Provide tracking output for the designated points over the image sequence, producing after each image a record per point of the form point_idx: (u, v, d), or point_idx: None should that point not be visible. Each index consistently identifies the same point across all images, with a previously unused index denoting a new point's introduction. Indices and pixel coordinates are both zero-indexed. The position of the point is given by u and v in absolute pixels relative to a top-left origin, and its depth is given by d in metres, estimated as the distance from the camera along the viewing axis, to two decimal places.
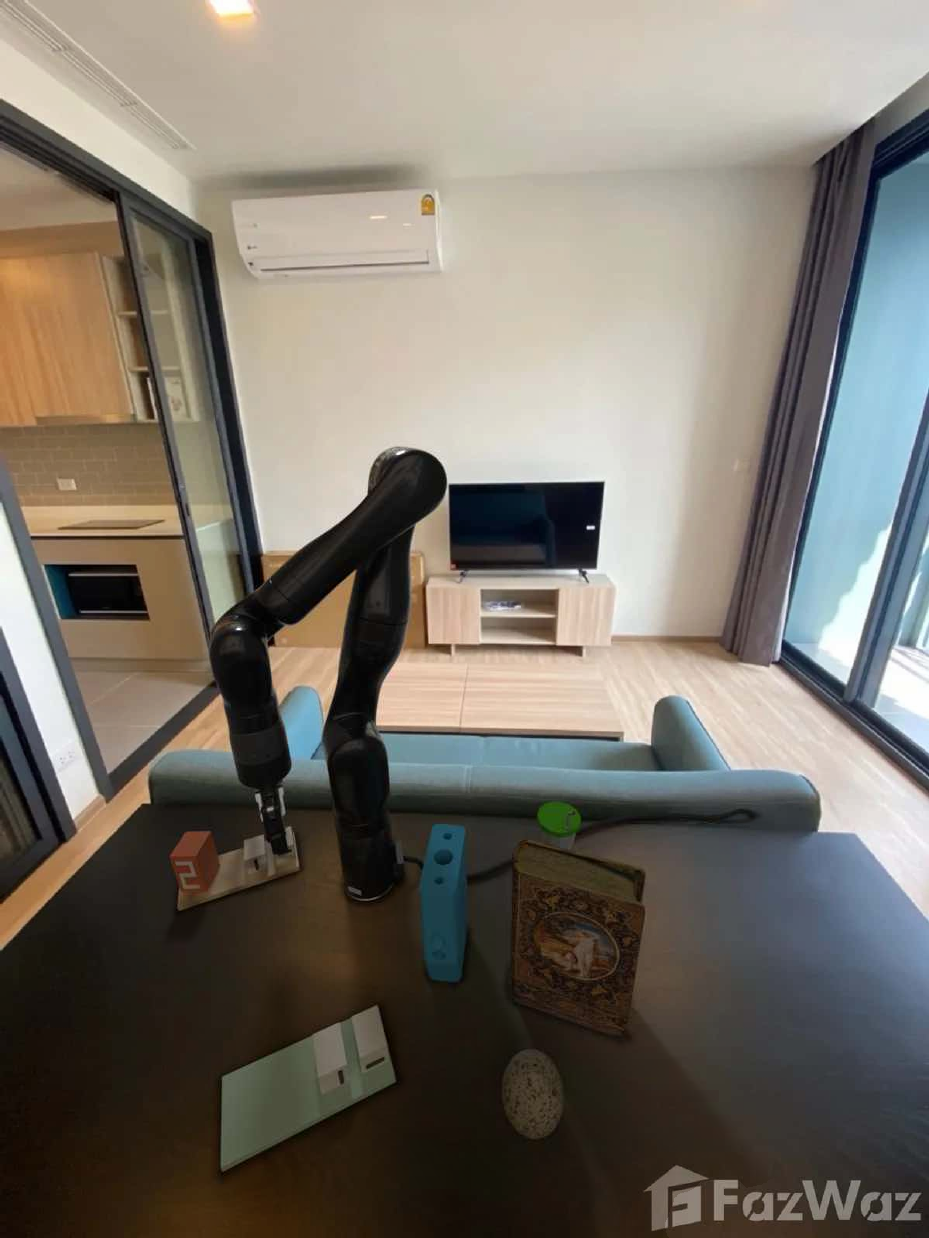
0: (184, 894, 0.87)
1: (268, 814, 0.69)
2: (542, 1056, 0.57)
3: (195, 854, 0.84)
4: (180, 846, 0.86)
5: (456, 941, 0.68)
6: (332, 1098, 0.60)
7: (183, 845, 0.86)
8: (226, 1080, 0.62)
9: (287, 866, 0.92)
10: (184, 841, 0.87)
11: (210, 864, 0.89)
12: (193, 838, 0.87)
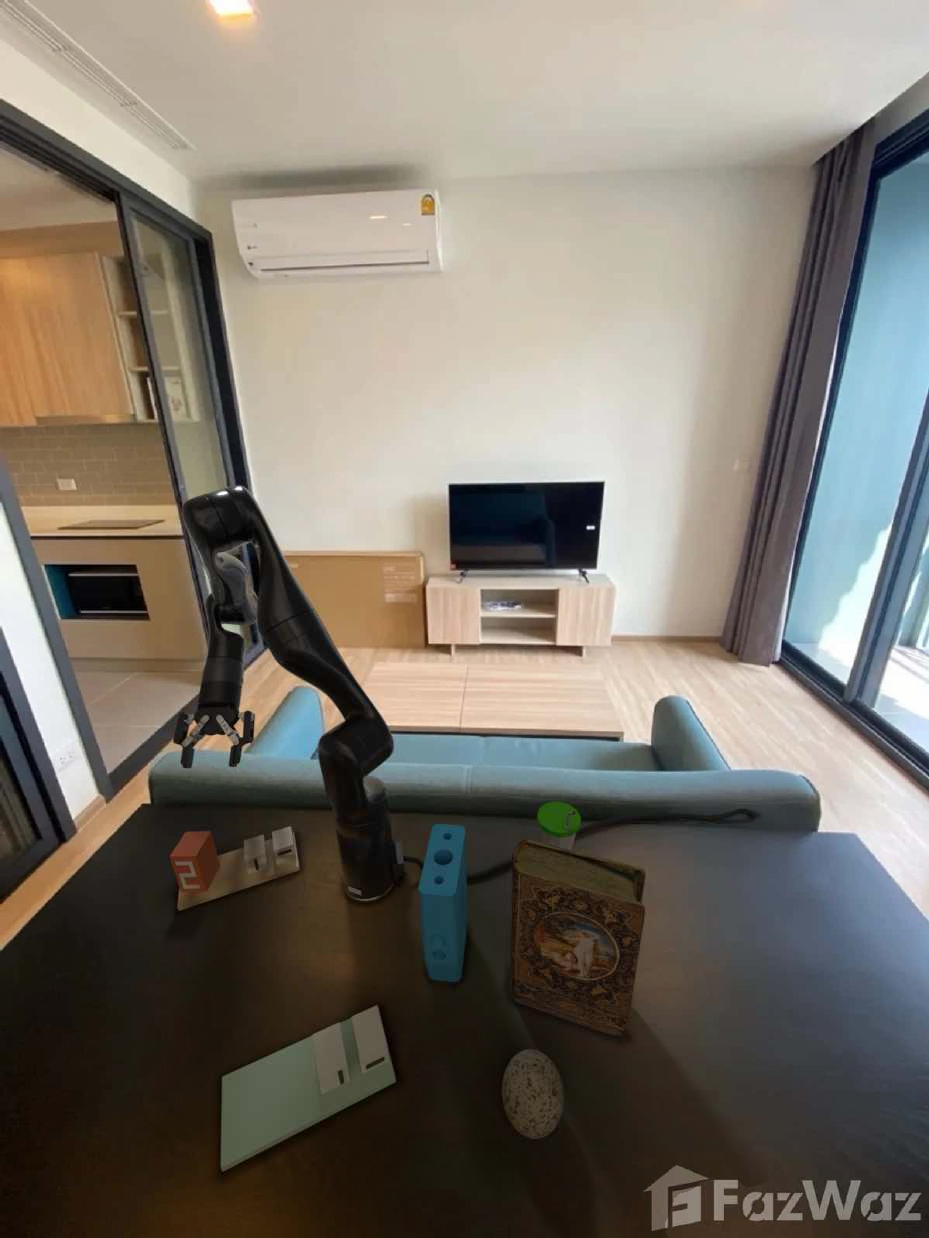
0: (184, 894, 0.87)
1: None
2: (542, 1056, 0.57)
3: (195, 854, 0.84)
4: (180, 846, 0.86)
5: (456, 941, 0.68)
6: (332, 1098, 0.60)
7: (183, 845, 0.86)
8: (226, 1080, 0.62)
9: (287, 866, 0.92)
10: (184, 841, 0.87)
11: (210, 864, 0.89)
12: (193, 838, 0.87)
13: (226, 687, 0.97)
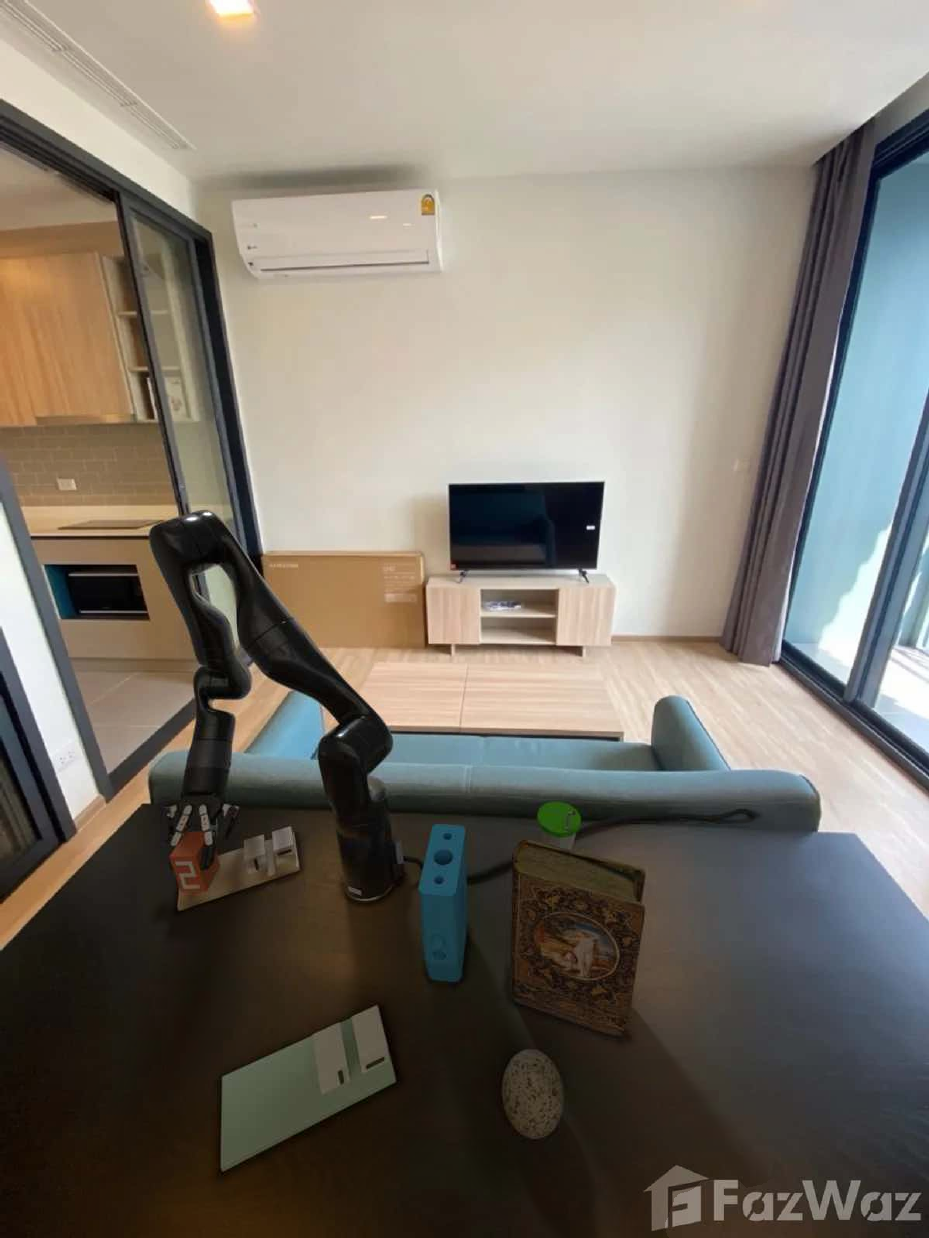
0: (184, 894, 0.87)
1: None
2: (542, 1056, 0.57)
3: (195, 854, 0.84)
4: (180, 846, 0.86)
5: (456, 941, 0.68)
6: (332, 1098, 0.60)
7: (183, 845, 0.86)
8: (226, 1080, 0.62)
9: (287, 866, 0.92)
10: (184, 841, 0.87)
11: None
12: (193, 838, 0.87)
13: (211, 774, 0.90)
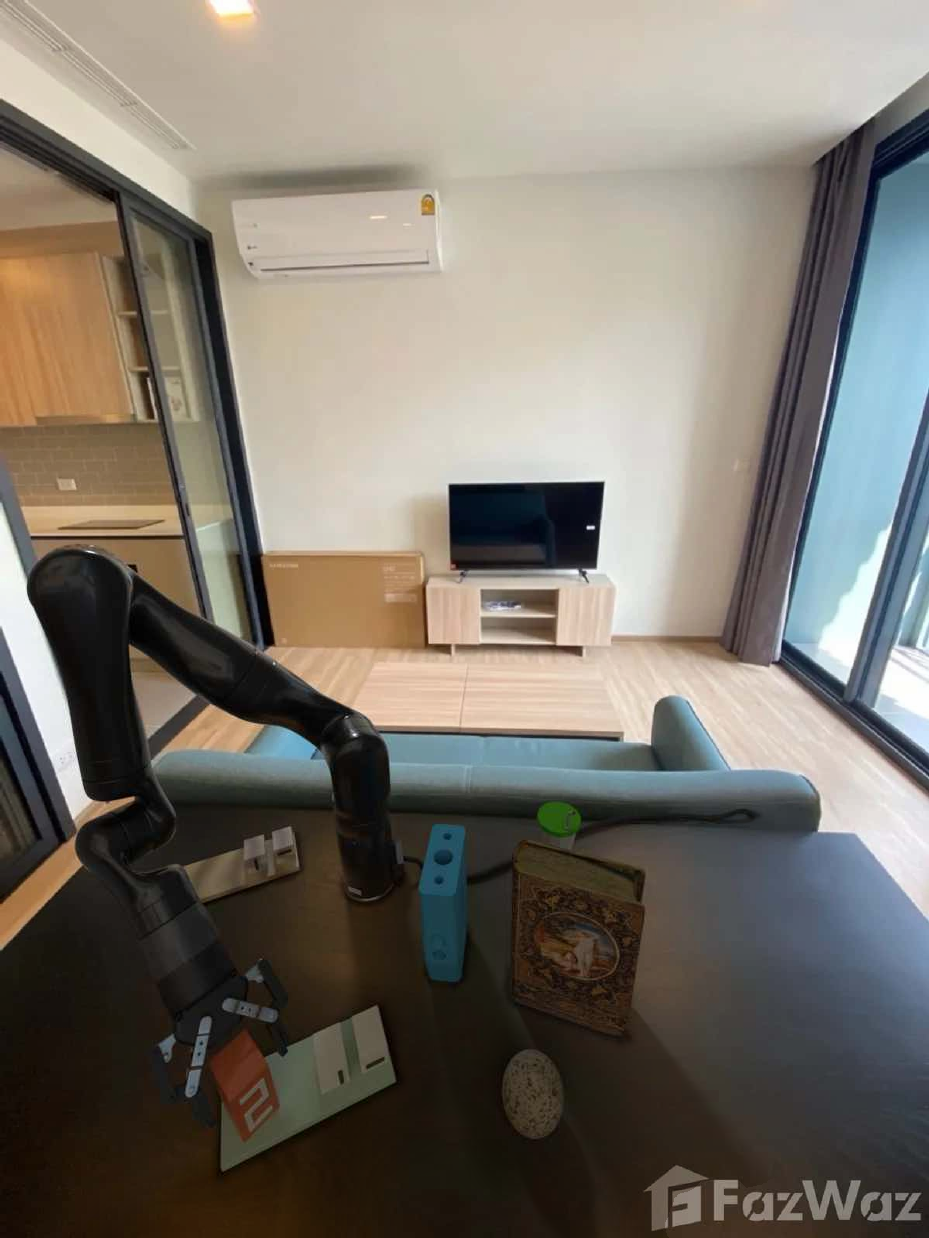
0: None
1: None
2: (542, 1056, 0.57)
3: (264, 1063, 0.57)
4: (227, 1079, 0.55)
5: (456, 941, 0.68)
6: (332, 1098, 0.60)
7: (230, 1074, 0.56)
8: None
9: (287, 866, 0.92)
10: (224, 1069, 0.56)
11: None
12: (234, 1056, 0.57)
13: (216, 951, 0.59)
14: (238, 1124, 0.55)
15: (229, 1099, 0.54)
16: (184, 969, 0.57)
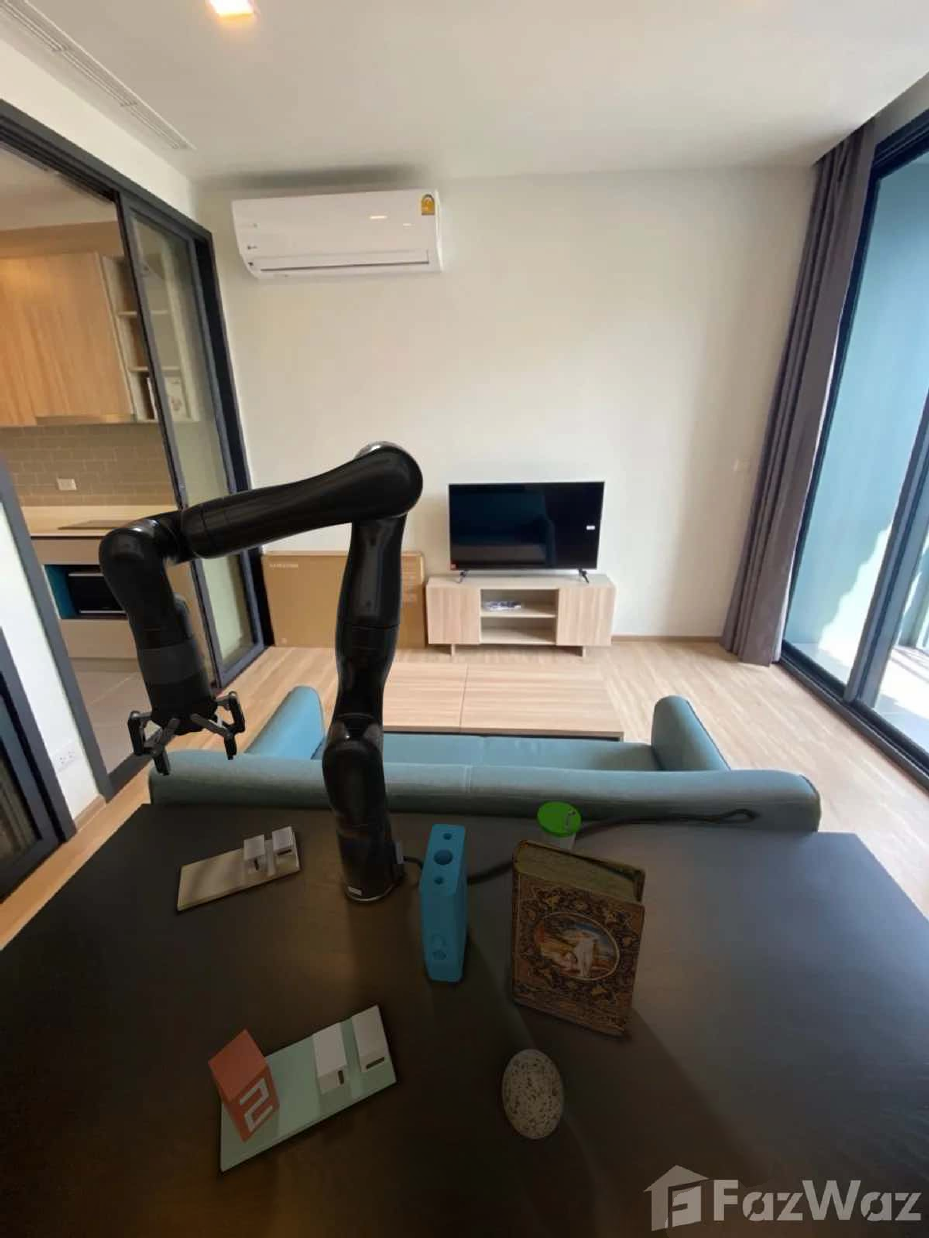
0: (184, 894, 0.87)
1: None
2: (542, 1056, 0.57)
3: (264, 1063, 0.57)
4: (227, 1079, 0.55)
5: (456, 941, 0.68)
6: (332, 1098, 0.60)
7: (230, 1074, 0.56)
8: None
9: (287, 866, 0.92)
10: (224, 1069, 0.56)
11: None
12: (234, 1056, 0.57)
13: (193, 684, 0.67)
14: (238, 1124, 0.55)
15: (229, 1099, 0.54)
16: (163, 687, 0.65)
